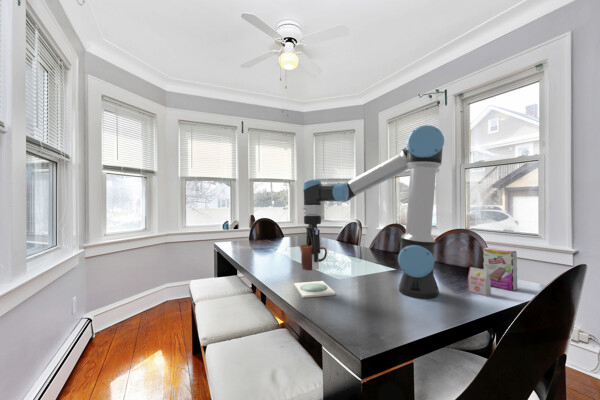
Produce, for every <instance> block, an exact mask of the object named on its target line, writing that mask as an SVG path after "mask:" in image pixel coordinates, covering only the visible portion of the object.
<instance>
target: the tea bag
mask: <svg viewBox="0 0 600 400" xmlns="http://www.w3.org/2000/svg"><path fill="white" fill-rule="evenodd" d="M467 291H468V292H467V293H470V294H471V293H472V294H476V295H480V296H482V297H488V296H491V295H492V286H491V280H490V277H489V273H488V270H484V269H483V268H478V267H474V266H473V267H472V266H469V270H468V275H467Z"/></svg>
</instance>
